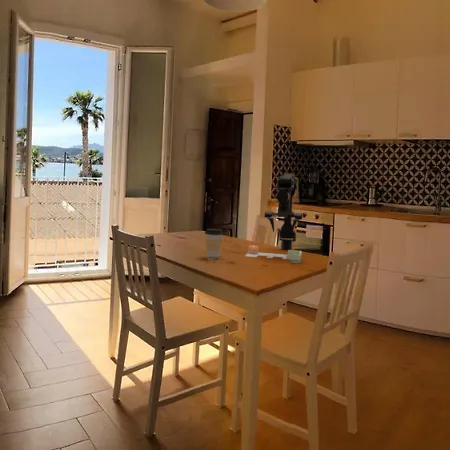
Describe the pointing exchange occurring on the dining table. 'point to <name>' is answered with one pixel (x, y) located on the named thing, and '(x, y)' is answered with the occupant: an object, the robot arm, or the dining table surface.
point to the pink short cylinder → (253, 249)
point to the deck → (282, 255)
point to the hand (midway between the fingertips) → (282, 232)
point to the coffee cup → (213, 243)
